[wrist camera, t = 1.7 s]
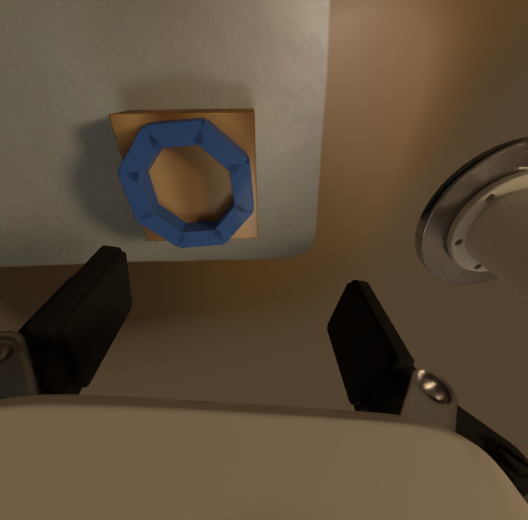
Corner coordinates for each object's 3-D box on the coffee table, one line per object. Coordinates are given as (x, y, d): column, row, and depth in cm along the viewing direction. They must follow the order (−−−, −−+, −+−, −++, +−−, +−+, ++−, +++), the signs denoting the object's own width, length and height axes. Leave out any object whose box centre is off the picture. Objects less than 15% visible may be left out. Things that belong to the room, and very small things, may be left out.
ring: (275, 178, 22) (277, 185, 21) (209, 253, 26) (206, 265, 25) (171, 85, 18) (163, 85, 17) (112, 191, 22) (101, 199, 21)
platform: (254, 108, 23) (254, 112, 19) (257, 220, 29) (257, 238, 26) (129, 110, 22) (108, 114, 19) (159, 223, 29) (147, 241, 25)
